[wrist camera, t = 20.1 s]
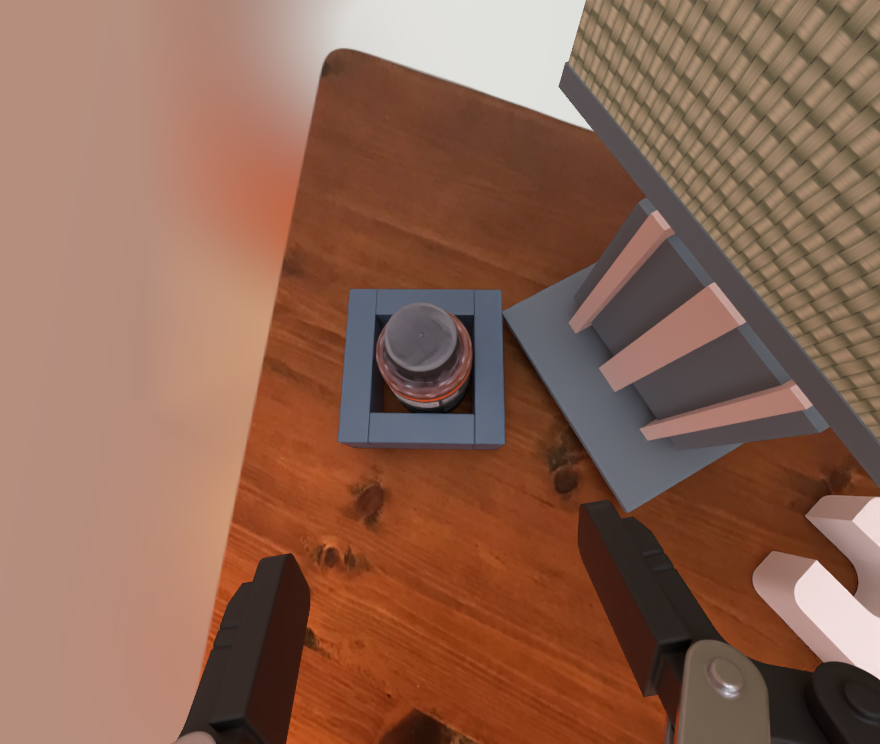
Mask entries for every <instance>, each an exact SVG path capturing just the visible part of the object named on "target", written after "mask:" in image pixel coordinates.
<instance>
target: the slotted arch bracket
mask: <svg viewBox="0 0 880 744" xmlns="http://www.w3.org/2000/svg"><path fill="white" fill-rule="evenodd" d="M805 517H806V518H807V519H808V520H809V521H810V522H811V523H812V524H813V525H814V526H815V527H816V528H817V529H818V530H819V531H820V532H821V533H823V534H824V535H825V536H826V537H827V538H828V539H829V540H830V541H831V542H832V543H833V544H834V545H835V546H836V547H837V548H838V549H839V550H840V551H841V552H842V553H843V554H844V555H845V556H846V557H847V558H848V559H849V560H850V561H851V563H852V564H853V566H854V568H855V570H856V573H857V576H858V588H857V592H856V593H855V595H854V597H853V596H852V595H851V594H850V593H849V592H848V591H847V590H846V589H845V588H844V587H843V586H842V585H841V584H840V583H839V582H838V581H837V580H836V579H835V578H834V577H833V576H832V575H831V574H830V573H829V572H828V571H827V570H826V569H825V568H824V567H823V566H822V565H821V564H820V563H819V562H818V561H817V560H814V559H809V558H805V557H800V556H795V555H791V554H786V553H782V552H777V551H772V552H771V553H770V554H769V555H768V556H767V557H766V558H765V559H764V560H763V561H762V563H761V564H760V565H759V566H758V567H757V568H756V569H755V571H754V573H753V577H752V581H753V586H754V588H755V590H756V592H757V593H758V594H759V595H760V596H761V597H762V598H763V600H764V601H765V602H766V603H767V604H768V605H769V606H770V607H771V608H772V609H773V610H774V611H775V612H776V613H777V614H778V615H779V616H780V617H781V618H782V619H783V620H784V621H785V623H786V624H787V625H788V626H789V627H790V628H791V629H792V630H793V631H794V632H795V633H796V634H797V635H798V636H799V637H800V638H801V639H802V640H803V641H804V642H805V643H806V645H807V646H808V647H809V648H810V649H811V650H812V651H813V652H814V653H815V654H816V655H817V656H818V657H819V658H820V659H821V660H822V661H823V662H824V663H825V662H829V661H838V662H844V663H848V664H851V665H854V666H856V667H859V668H861V669H863V670H865V671H867V672H869V673H870V674H872V675H873V676H875V677H877V678H878V679H879V680H880V497H864V496H839V495H827V496H824V497H822V498H821V499H820V500H819V501H818V502H817V503H816V504H815V505H814V506H813V507H812V508H811V509H810V511H809V512H808V513H807V514H806V515H805Z"/></svg>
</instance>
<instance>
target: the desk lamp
mask: <svg viewBox="0 0 880 744" xmlns="http://www.w3.org/2000/svg"><path fill="white" fill-rule="evenodd" d="M559 88H560V89H561V90H562V92H563V93H564V94H565V95H566V97H567V98H568V99H569V100H570V102H571V103H572V104H573V105H574V106H575V108H576V109H577V110H578V111H579V113H580V114H581V115H582V117H583V118H584V119H585V120H586V122H587V123H588V124H589V125H590V126H591V128H592V129H593V130H594V132H595V133H596V134H597V135H598V137H599V138H600V139H601V140H602V142H603V143H604V144H605V145H606V147H607V148H608V149H609V150H610V152H611V153H612V154H613V155H614V157H615V158H616V159H617V160H618V162H619V163H620V164H621V165H622V167H623V168H624V169H625V170H626V172H627V173H628V174H629V175H630V177H631V178H632V179H633V180H634V182H635V183H636V184H637V185H638V187H639V188H640V189H641V190H642V192H643V193H644V194H645V195H646V197H647V198H645V199H643V200H641V201H639V202H638V203H637V204H636V206H635V207H634V209H633V210H632V212H631V213H630V214H629V216H628V217H627V219H626V220H625V222H624V223H623V225H622V226H621V228H620V229H619V231H618V232H617V234H616V235H615V237H614V238H613V240H612V241H611V243H610V244H609V246H608V247H607V249H606V250H605V251H604V253H603V254H602V256H601V257H600V259H599V260H598V262H596V263H594V264H592V265H590V266H588V267H586V268H585V269H583V270H581V271H579V272H577V273H575V274H573V275H571V276H569V277H567V278H565V279H564V280H562V281H560V282H558V283H556V284H554V285H552V286H550V287H548V288H546V289H544V290H542V291H541V292H539V293H537V294H535V295H533V296H531V297H529V298H527V299H525V300H523V301H521V302H519V303H518V304H516V305H514V306H512V307H510V308H508V309H506V310H504V311H502V317H503V319H504V321H505V322H506V324H507V325H508V327H509V329H510V330H511V332H512V333H513V335H514V337H515V338H516V340H517V341H518V343H519V344H520V346H521V348H522V349H523V351H524V352H525V354H526V356H527V357H528V359H529V360H530V362H531V364H532V365H533V367H534V368H535V370H536V372H537V373H538V375H539V376H540V378H541V379H542V381H543V383H544V384H545V386H546V387H547V389H548V391H549V392H550V394H551V395H552V397H553V399H554V400H555V402H556V403H557V405H558V407H559V408H560V410H561V411H562V413H563V414H564V416H565V418H566V419H567V421H568V422H569V424H570V426H571V427H572V429H573V430H574V432H575V434H576V435H577V437H578V438H579V440H580V442H581V443H582V445H583V446H584V448H585V449H586V451H587V453H588V454H589V456H590V457H591V459H592V461H593V462H594V464H595V465H596V467H597V469H598V470H599V472H600V473H601V475H602V477H603V478H604V480H605V481H606V483H607V484H608V486H609V488H610V489H611V491H612V492H613V494H614V496H615V497H616V499H617V500H618V502H619V504H620V505H621V507H622V508H623V510H624V512H625V513H629V512H631V511H632V510H634V509H636V508H637V507H639V506H641V505H642V504H644V503H646V502H647V501H649V500H651V499H652V498H654V497H656V496H657V495H659V494H661V493H662V492H664V491H666V490H667V489H669V488H671V487H672V486H674V485H676V484H677V483H679V482H681V481H682V480H684V479H685V478H687V477H689V476H690V475H692V474H694V473H695V472H697V471H699V470H700V469H702V468H704V467H705V466H707V465H709V464H710V463H712V462H714V461H715V460H717V459H719V458H720V457H722V456H724V455H725V454H727V453H729V452H730V451H732V450H734V449H735V448H737V447H739V446H740V445H742V444H744V443H745V442H753V441H761V440H769V439H776V438H784V437H792V436H800V435H808V434H816V433H820V432H822V431H824V430H825V429H827V428H829V427H831V428H832V430H833V431H834V432H835V433H836V435H837V436H838V437H839V438H840V440H841V441H842V442H843V443H844V445H845V446H846V447H847V448H848V450H849V451H850V452H851V453H852V455H853V456H854V457H855V458H856V460H857V461H858V462H859V463H860V465H861V466H862V467H863V468H864V470H865V471H866V472H867V473H868V475H869V476H870V477H871V478H872V480H873V481H874V482H875V483H876V485H877V486H878V487H879V488H880V0H586V3H585V6H584V9H583V13H582V17H581V20H580V24H579V27H578V31H577V34H576V38H575V41H574V45H573V48H572V52H571V55H570V59H569V61H568V62H566V63H565V66H564V69H563V73H562V77H561V81H560V84H559Z"/></svg>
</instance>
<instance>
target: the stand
mask: <svg viewBox="0 0 880 744" xmlns="http://www.w3.org/2000/svg"><path fill="white" fill-rule="evenodd" d="M417 302H425V303H431V304H434V305H437V306H439V307H440V308H442V309H443V310H446V311H448V312H450V313H451V314H453V315H454V316H455V317H456V318H458V319H459V320H460V321H461V322H462V324H463V325H464V326H465V328H466V330H467V331H468V334H469V336H470V338H471V343H472V366H471V414H451V413H382V406H383V387H384V378H383V377H382V375H381V373H380V370H379V367H378V364H377V359H376V346H377V341H378V338H379V335H380V333H381V332H382V330H383V328H384V327H385V325H386V324H387V323H388V321H389V319H390V318H391V317H392V315H393V314H394V313H395V312H396V311H398V310H399V309H401V308H402V307H404V306H406V305H408V304H411V303H417ZM338 442H339V443H342V444H345V445H348V446H351V447H354V448H401V449H472V450H497V449H499V448H500V447H502V446H503V445H505V443H506V441H505V400H504V360H503V319H502V291H501V290H461V289H350V292H349V305H348V318H347V330H346V343H345V356H344V368H343V381H342V394H341V406H340V419H339V432H338Z"/></svg>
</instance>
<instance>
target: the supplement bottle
mask: <svg viewBox="0 0 880 744" xmlns="http://www.w3.org/2000/svg"><path fill="white" fill-rule="evenodd" d="M376 359H377V364H378V367H379V370H380V373H381V375H382V377H383V378H384V380H385V381H386V383H387V384H388V386H389V387H390V388H391V390H392V391H393V393H394V394H395V395H396V397H397V398H398V399H399V401H400V402H401V403H402V404H403V405H404V406H405V407H406V408H407V409H408V410H409V411H411V412H412V413H449V412H451V411H452V410H454V409H455V408H456V407H457V406H458V405H459V404H460V403H461V401H462V400H463V398H464V397H465V394H466V392H467V389H468V384H469V378H470V372H471V366H472V343H471V339H470V336H469V334H468V331H467V330H466V328H465V326H464V325H463V324H462V322H461V321H460V320H459V319H458V318H456V317H455V316H454V315H453V314H451V313H450V312H448V311H446V310H443V309H442V308H440V307H439V306H437V305H434V304H431V303H425V302H417V303H411V304H408V305H406V306H404V307H402V308H401V309H399V310H398V311H396V312H395V313H394V314H393V315H392V317H391V318H390V319H389V321H388V323H387V324H386V325H385V327H384V328H383V330H382V332H381V333H380V335H379V338H378V341H377V346H376Z"/></svg>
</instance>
